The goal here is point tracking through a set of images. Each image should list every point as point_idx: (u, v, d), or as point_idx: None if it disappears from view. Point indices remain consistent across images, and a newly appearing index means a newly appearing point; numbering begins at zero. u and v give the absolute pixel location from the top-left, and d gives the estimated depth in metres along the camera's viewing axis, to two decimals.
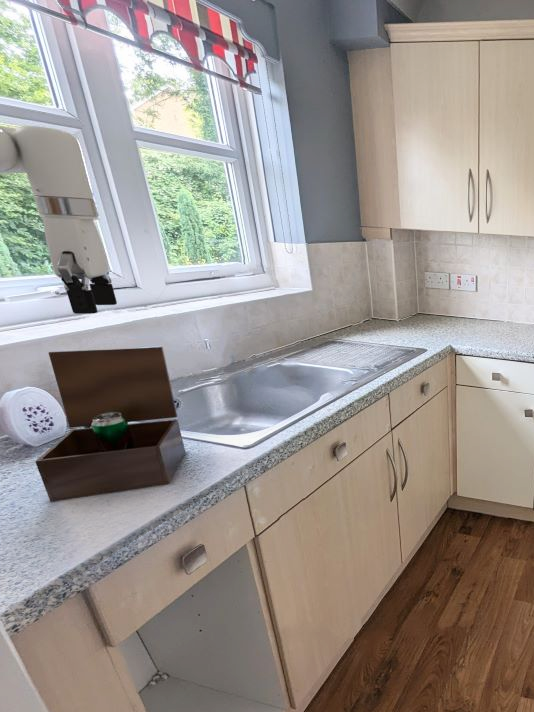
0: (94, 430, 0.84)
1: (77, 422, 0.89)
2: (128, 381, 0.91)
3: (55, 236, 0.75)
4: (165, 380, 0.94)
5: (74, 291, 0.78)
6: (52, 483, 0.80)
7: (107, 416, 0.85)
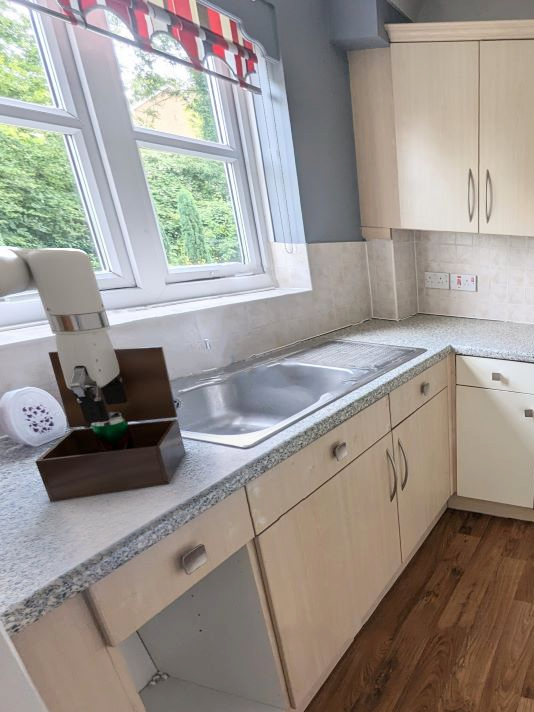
0: (94, 430, 0.84)
1: (77, 422, 0.89)
2: (128, 381, 0.91)
3: (67, 353, 0.76)
4: (165, 380, 0.94)
5: (87, 403, 0.79)
6: (52, 483, 0.80)
7: None
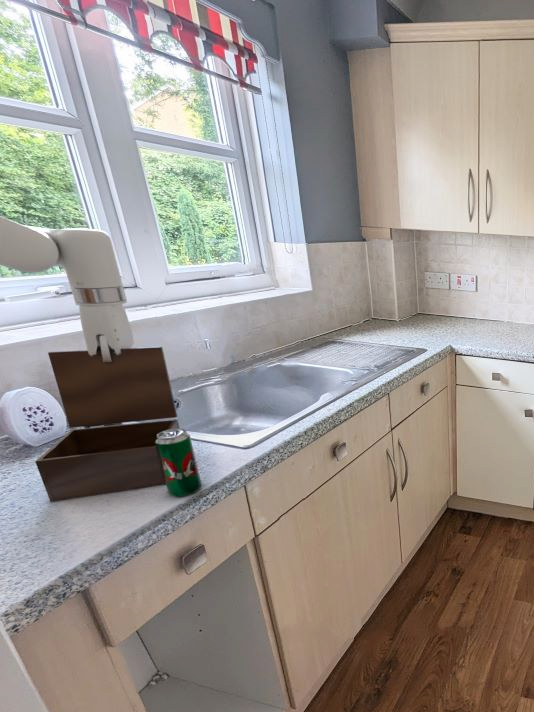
0: (158, 448, 0.80)
1: (77, 422, 0.89)
2: (128, 381, 0.91)
3: (90, 322, 0.85)
4: (165, 380, 0.94)
5: None
6: (52, 483, 0.80)
7: (171, 433, 0.81)
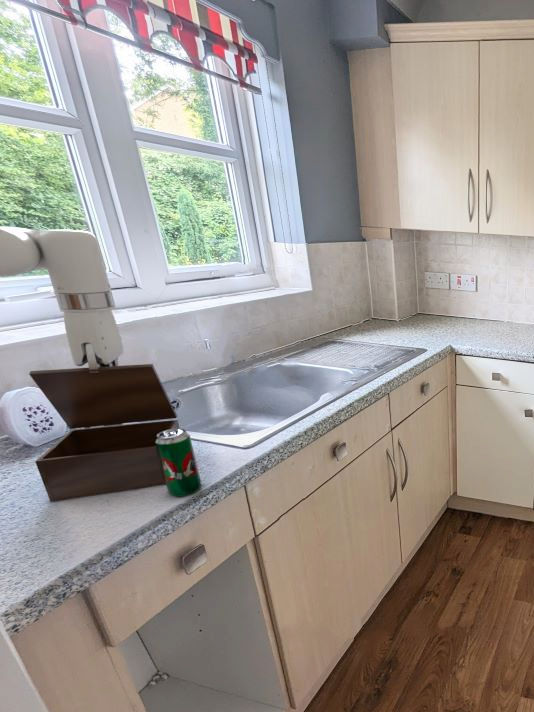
0: (158, 448, 0.80)
1: (76, 424, 0.89)
2: (122, 394, 0.88)
3: (75, 330, 0.80)
4: (160, 392, 0.90)
5: None
6: (52, 483, 0.80)
7: (171, 433, 0.81)
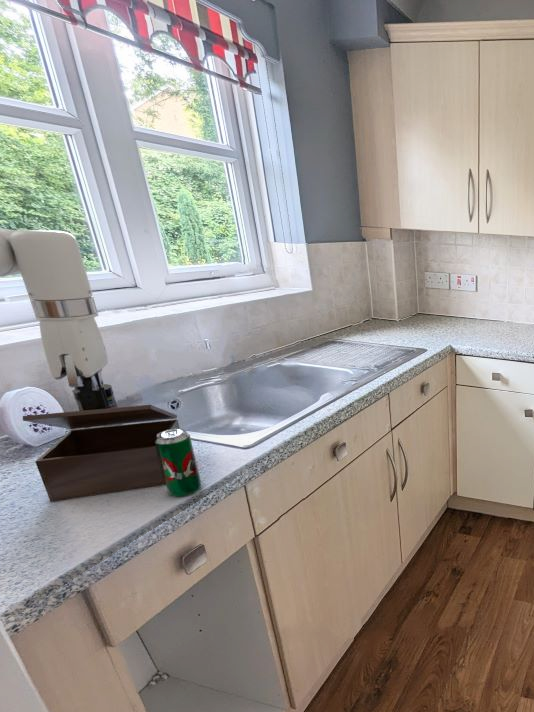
0: (158, 448, 0.80)
1: (77, 428, 0.89)
2: (121, 417, 0.86)
3: (52, 340, 0.73)
4: (160, 414, 0.89)
5: (85, 392, 0.79)
6: (52, 483, 0.80)
7: (171, 433, 0.81)
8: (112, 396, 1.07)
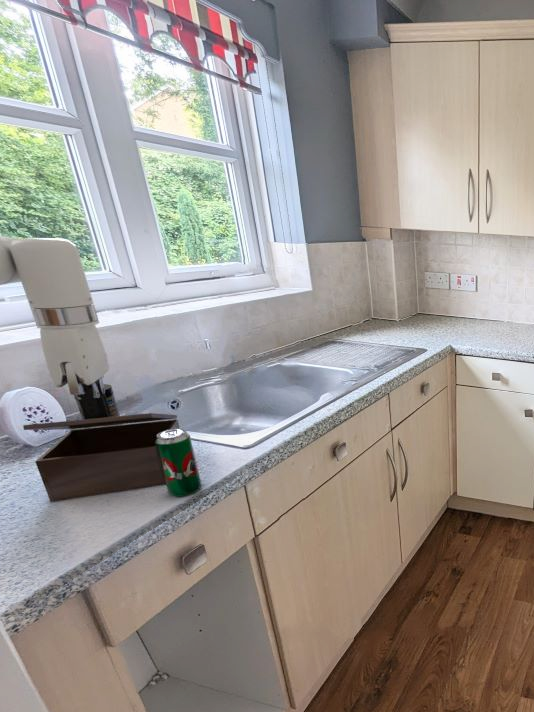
0: (158, 448, 0.80)
1: (77, 428, 0.89)
2: (122, 422, 0.86)
3: (53, 348, 0.72)
4: (161, 418, 0.89)
5: (86, 400, 0.79)
6: (52, 483, 0.80)
7: (171, 433, 0.81)
8: (112, 396, 1.07)
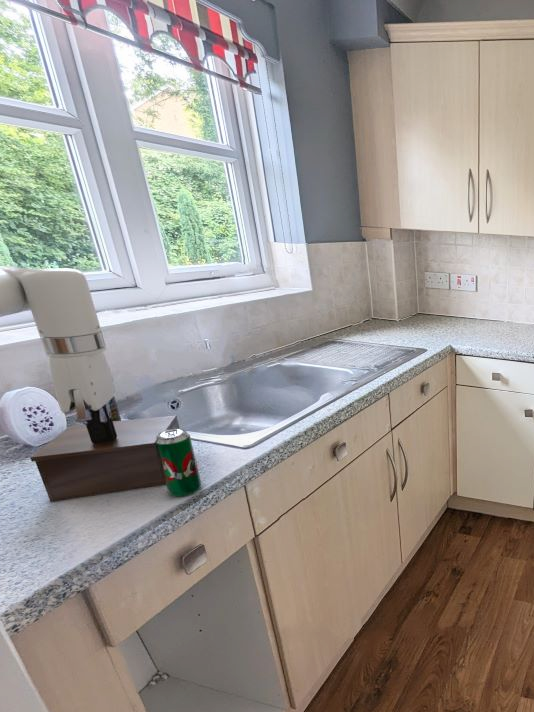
0: (158, 448, 0.80)
1: None
2: None
3: (61, 376, 0.74)
4: None
5: (93, 424, 0.81)
6: (52, 483, 0.80)
7: (171, 433, 0.81)
8: None
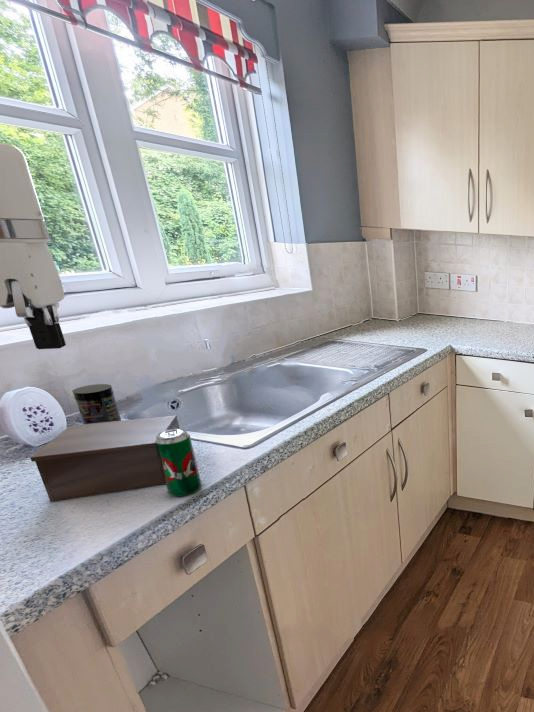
0: (158, 448, 0.80)
1: None
2: None
3: None
4: None
5: (37, 326, 0.73)
6: (52, 483, 0.80)
7: (171, 433, 0.81)
8: (112, 396, 1.07)
